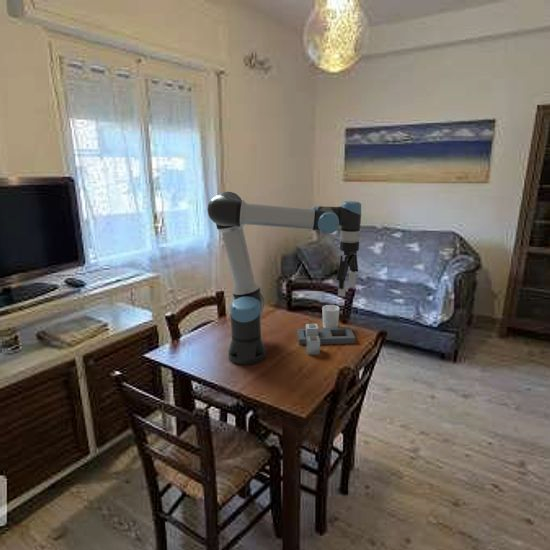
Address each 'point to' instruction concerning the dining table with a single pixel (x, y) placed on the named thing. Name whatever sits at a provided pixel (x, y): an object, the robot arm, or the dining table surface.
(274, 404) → the dining table surface
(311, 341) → the block
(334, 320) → the white cup
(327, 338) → the grey socket block
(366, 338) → the dining table surface
